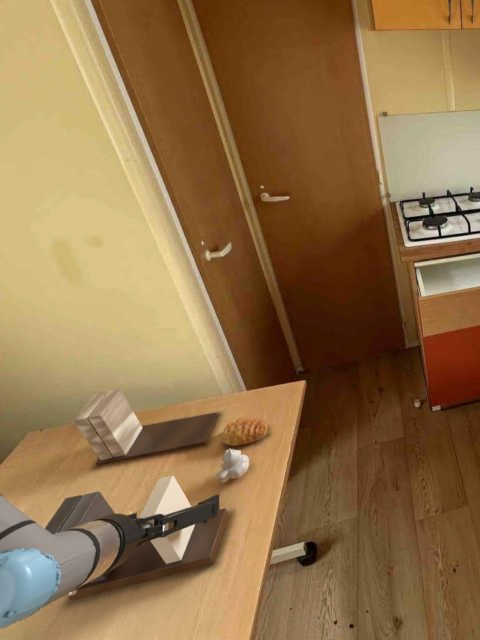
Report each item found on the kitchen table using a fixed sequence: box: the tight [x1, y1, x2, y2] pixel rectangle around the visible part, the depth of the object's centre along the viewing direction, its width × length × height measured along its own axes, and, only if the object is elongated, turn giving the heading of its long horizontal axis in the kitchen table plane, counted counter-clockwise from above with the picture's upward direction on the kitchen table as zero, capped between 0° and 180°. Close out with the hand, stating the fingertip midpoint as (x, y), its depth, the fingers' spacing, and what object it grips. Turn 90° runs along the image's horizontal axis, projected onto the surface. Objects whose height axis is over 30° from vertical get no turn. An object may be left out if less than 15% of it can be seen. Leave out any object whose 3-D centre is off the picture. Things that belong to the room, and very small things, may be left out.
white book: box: [138, 475, 195, 564], centre depth 77 cm, size 2×8×13 cm, turn 15°
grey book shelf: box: [44, 490, 231, 602], centre depth 76 cm, size 22×9×16 cm, turn 105°
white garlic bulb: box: [216, 447, 250, 483], centre depth 92 cm, size 5×7×8 cm
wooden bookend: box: [72, 388, 219, 467], centre depth 100 cm, size 22×9×14 cm, turn 105°
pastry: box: [221, 417, 268, 447], centre depth 103 cm, size 9×7×4 cm
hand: (176, 511), depth 79 cm, fingers open, 13 cm apart
